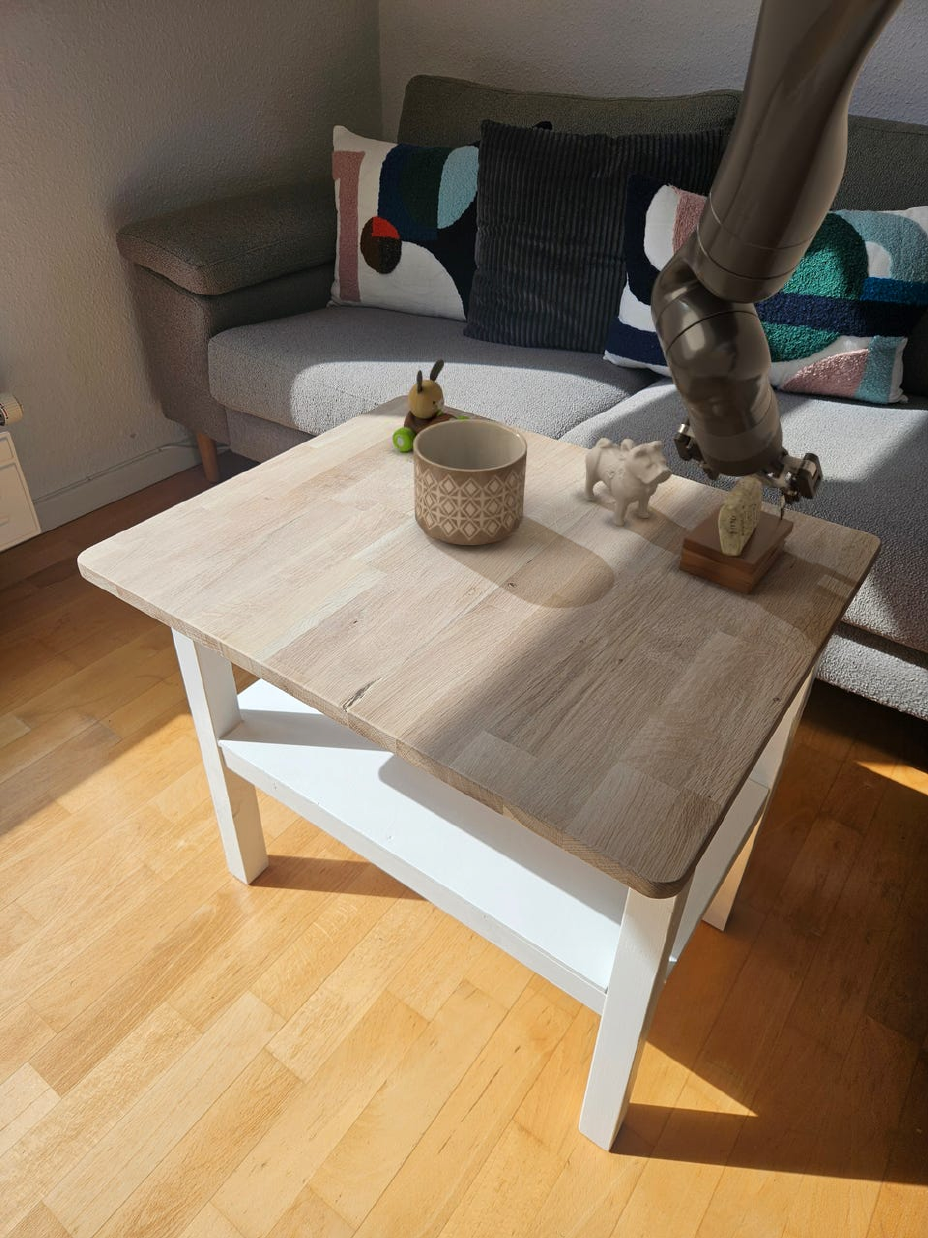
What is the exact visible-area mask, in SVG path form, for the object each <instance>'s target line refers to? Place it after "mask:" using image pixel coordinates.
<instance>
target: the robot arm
mask: <svg viewBox="0 0 928 1238" xmlns="http://www.w3.org/2000/svg"><path fill="white" fill-rule="evenodd" d="M904 2H905V0H761V2H760V5H759V11H758V15H757V22H756V26H755V32H754V36H753V41H752V46H751V51H750V55H749V56H750V57H749V61H748V66H747V71H746V75H745V81H744V84H743V90H742V93H741V98H740V101H739V105H738V108H737V113H736V117H735V120H734V122H733V123H734V124H733V126H732V130H731V133H730V136H729V139H728V142H727V145H726V147H725V150H724V153H723V156H722V159H721V161H720V164H719V167H718V169H717V171H716V174H715V177H714V179H713V182H712V184H711V188H710V190H709V191H708V195H707V197H706V199H705V203H704V205H703V207H702V211H701V213H700V215H699V218H698V220H697V224H696V227H695V229H694V230H693V231H692V232H691V233H690V234H689V236H688V237H687V238H686V239H685V240H684V241H683V243H682V244H681V245H680V246H679V248H677V250H676V251H675V253H674V254H673V255H672V256H671V258H670V259H669V260H668V261H667V263H666V264H665V265H664V266H663V267H662V269H660V271H659V273H658V274H657V276H656V278H655V280H654V283H653V284H652V285H653V286H652V290H651V295H650V316H651V320H652V323H653V327H654V329H655V333H656V335H657V339H658V341H659V344H660V347H661V350H662V353H663V356H664V358H665V362H666V365H667V368H668V371H669V373H670V376H671V379H672V382H673V385H674V387H675V389H676V391H677V393H678V395H679V398H680V399H681V400H682V402H683V405H684V407H685V408H686V412H687V413H688V417H683V418H682V421H681V423H680V424H679V427H678V429H677V432H676V433H675V436H674V438H673V442H674V445H675V449H676V451H677V454H678V457H679V459H680V460H682V461H684V462H687V463H688V462H691V461H692V460H694V461H696V463H695V465H696V466H697V467H699V468H700V469H702V471H703V472H704V474H706V475H707V478H708V480H711V481H714V482H716V481H717V480H718V478H719V476H720V475H723V476H726V477H730V478H731V477H732V478H740V477H741V478H742V477H743V476H749V477H755V478H756V479H757V480H759V481H760V482H761V483H762V485H765V486H766V487H768V488H769V489H778V490H780V491H781V492H782V491H783V495H784V499H785V504H787V505H790V506H793V505H794V503H800V501H801V499H802V498H804V499H807V500H813V499H814V498H815V495H816V493H817V491H818V489H819V486H820V484H821V482H822V481H823V479H824V474H823V470H822V466H821V462H820V458H819V456H818V455H817V454H815V453H813V452H805V454H804V455H803V456H801V458H799V457H796V456H792V455H790V453H789V450H788V449H786V448H785V447H784V446H783V441H784V440H783V438H784V436H783V427H782V421H781V417H780V412H779V406H778V405H779V404H778V401H777V397H776V394H775V391H774V389H773V387H772V385H771V381H770V372H771V369H772V356H771V352H770V347H769V343H768V339H767V336H766V333H765V330H764V327H763V325H762V322H761V320H760V317H759V315H758V312H757V309H756V306H755V305H754V304H755V303H761V302H763V301H766V300H768V299H769V298H771V297H773V296H774V295H776V294H777V293H778V292H779V291H780V290H782V288H784V286H786V284H787V283H788V281H789V280H790V279H791V277H792V276H793V275H794V273H795V271H796V270H797V268H798V266H799V265H800V262H801V261H802V259H803V257H804V256H805V254H806V252H807V250H808V249H809V247H810V245H811V243H812V242H813V240H814V238H815V236H816V235H817V233H818V232H819V229H820V228H821V225H822V224H823V222H824V221H825V218H826V216H827V214H828V212H829V210H830V208H831V206H832V204H833V202H834V200H835V198H836V195H837V193H838V190H839V188H840V186H841V182H842V179H843V176H844V172H845V167H846V161H847V155H848V143H849V142H848V141H849V139H848V138H849V137H848V135H849V127H848V122H849V121H848V117H849V106H850V103H851V97H852V94H853V91H854V87H855V86H856V83H857V80H858V78H859V75H860V73H861V71H862V69H863V67H864V65H865V63H866V61H867V59H868V57H869V55H870V54H871V52H872V50H873V48H874V47H875V45H876V43H877V42H878V41H879V39H880V38H881V35H882V34H883V33H884V31H885V30H886V29H887V26H888V25H889V23H891V21H892V19H893V18H894V17H895V15H896V14H897V12H898V11H899V9H900V8H901V6H902V5H903V3H904ZM789 474H790V476H789V478H788V481H787V480H786V481H785V478H786V479H787V476H788V475H789Z"/></svg>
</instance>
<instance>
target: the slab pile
mask: <svg viewBox="0 0 928 1238" xmlns="http://www.w3.org/2000/svg"><path fill="white" fill-rule="evenodd" d="M723 505H724V502H723V503H722V504H721V505H720V506H718V507H717V508H715V509H714V511H713V512H712V513H710V515H708V516H707V517H706V518H705V519H704V520H702V521H701V523H699V524H698V525H697V526H696V527H694V528H693V529H692V530H691V531H690V532H689V533H688V534H686V536H684V537H683V542H682V546H681V547H682V548H683V551H682V553H681V557H680V559H679V565H678V570H681V571H684V572H686V573H689V574H692V575H695V576H697V577H700V578H703V579H705V580H708V581H710V582H713V583H716V584H717V585H718V584H719V585H721V586H724V587H726V588H729V589H732V590H735V591H737V592H740V593H743V594H745V595H748V594H749V593H750V592H751V590H753V588H754V587H755V586H756V584H757V583H758V582H759V580H760V579H761V578H762V577H763V575H764V574H765V573H766V572H767V571H768V569H769V568H770V567H771V566H772V564H773V563H774V561H776V559H777V558H778V557H779V555H780V554H781V553H782V552H783V551H784V549H785V545H786V542H787V541H786V540H785V539H787V537H789V535H790V534H791V533H792V532H793V529H794V526H795V521H792V520H789V519H786V518H784V517H783V518H782V520H781V519H780V516H778V515H776V514H773V513H770V512H767V511H764V510H761V512H760V518H759V522H758V523H757V525H756V527H755V528H754V530H753V532H752V534H751V536H750V538H749V539H748V541H747V543H746V544H745V545H744V547H743V549H742V551H741V553H740V555H738V556H727V555H725V554H724V553H723V550H722V547H721V542H720V536H719V526H718V518H719V514H720V510H721V508H722V506H723Z"/></svg>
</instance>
